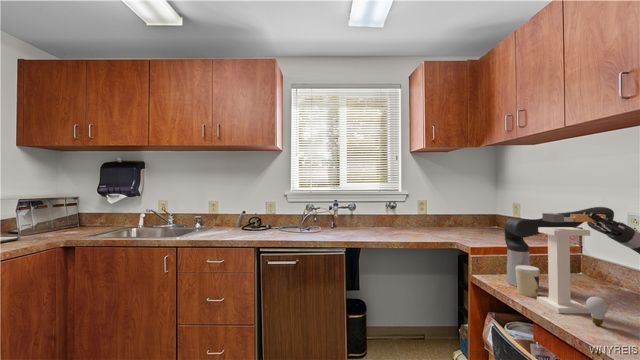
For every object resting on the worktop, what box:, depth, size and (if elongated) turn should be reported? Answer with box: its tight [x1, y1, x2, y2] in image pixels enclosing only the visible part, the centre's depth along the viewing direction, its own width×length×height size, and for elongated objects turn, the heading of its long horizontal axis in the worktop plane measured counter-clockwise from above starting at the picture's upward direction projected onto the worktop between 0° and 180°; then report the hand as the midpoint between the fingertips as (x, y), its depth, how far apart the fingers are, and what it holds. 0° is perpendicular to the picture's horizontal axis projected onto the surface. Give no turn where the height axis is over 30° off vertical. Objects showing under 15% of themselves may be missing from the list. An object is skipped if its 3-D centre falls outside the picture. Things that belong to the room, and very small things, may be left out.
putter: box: [541, 212, 606, 223], centre depth 123 cm, size 6×22×3 cm, turn 89°
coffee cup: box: [515, 265, 541, 298], centre depth 138 cm, size 9×9×12 cm
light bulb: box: [585, 296, 610, 327], centre depth 107 cm, size 6×6×10 cm
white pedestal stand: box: [536, 227, 591, 314], centre depth 123 cm, size 12×14×32 cm
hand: (587, 214), depth 123 cm, fingers closed on putter, 2 cm apart
